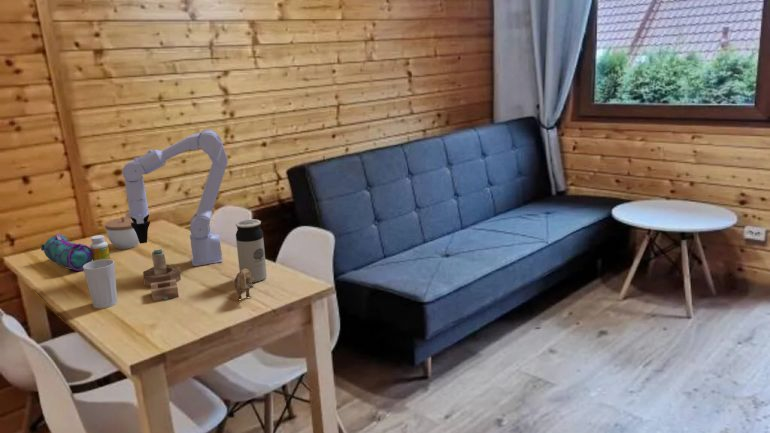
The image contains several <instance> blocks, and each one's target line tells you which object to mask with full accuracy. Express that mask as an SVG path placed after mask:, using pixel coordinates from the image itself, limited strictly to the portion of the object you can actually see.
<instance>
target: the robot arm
mask: <svg viewBox="0 0 770 433" xmlns="http://www.w3.org/2000/svg"><path fill="white" fill-rule="evenodd" d="M199 148H200V149H201V150H202V151H203V152H204V153H205V154H207V156H208V157H209V159H210V161H211V166H210V169H209V172H208V176H207V178H206V181H205V185H204V186H203V187H204V189H203V191H202V194H201V198H200V199H199V200H200V201H199V204H198V207H197V209H196V212H195V214H194V215H193V216H192V217H191V219H190V222H189V223H190V226H189V232H190V236H189V238H190V240H189V241H190V245H191V246H190V248H191V256H192V257H191V258H190V260H191V263H192V267H197V266H198V267H199V266H203V265H211V264H216V263H222V262H223V256H222V255H223V253H222V246H221V239H220V235H219V234H218V233H213V232H212V231H211V225H210V224H211V218H212V214H213V211H214V207H215V203H216V202H217V201H216V200H217V197H218V194H219V191H220V187H221V184H222V181H223V179H224V175H225V172H226V169H227V166H228V162H229V161H228V160H229V159H228V155H227V153H226V150H225V147H224V144H223V141H222V139H221V137H220V136H219V135H218V133H217V132H216V131H215V130H213V129H210V128H209V129H203V130H202V131H200V132H196V133H193V134H191V135H188V136H187V137H184V138H183V139H181V140H178V141H177V142H176V143H174V144H172V145H170V146H168V147H167V148H166V147H165V149H163V150H159V149H153V150H152V149H148V150H147V152H146V153H145V154H143V155H141V156H139V157H137V156H135V157H134V158H133V160H129V161H128V162H127V163H126V164H124V166H123V168H122V170H121V172H122V177H123V178H124V184H125V186H124V187H125V192H126V199H127V205H128V206H127V207H128V211H129V212H127V213H125V218H131V219H132V221H133V222H132V223H131V226H132V227H133V229H134V230H135V232H136V234H137V237H138V240H139V244H141V245H142V244H146V243H148V233H149V228H150V224H151V222H150V220H149V217H150V211H149V205H148V199H147V193H146V192H147V191H146V185H145V183H144V182H145V181H144V177H143V175H149V174H151V173H152V172H155V171H156V170H158V169H160V168H163V167H164V166H165V165H166V164H167V160H169V159H171V158H174V157H175V156H177V155H180V154H182V153H184V152H186V151H189V150H192V151H199ZM148 220H149V221H148Z"/></svg>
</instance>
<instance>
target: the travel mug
mask: <svg viewBox="0 0 770 433" xmlns="http://www.w3.org/2000/svg"><path fill="white" fill-rule="evenodd" d="M261 223H262V220H259V219H253V218H252V219H243V220H240V221H237V222H236V223H235V227H237V231H236V233H235V239H236V250H237V259H238V270H239V272H240V271H241V270H242V269H244V268H246V269H248V270H249V271H250V273H251V277H252V278H253V279H254V281H253V283H258V282H257V281H259V282H261V280H262V281H263V280H265V279H266V278H267V274H268V273H267V265H266V254H265V253H266V252H265V244H264V243H265V242H264V232H263V230H262V229H261V225H262V224H261Z"/></svg>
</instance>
